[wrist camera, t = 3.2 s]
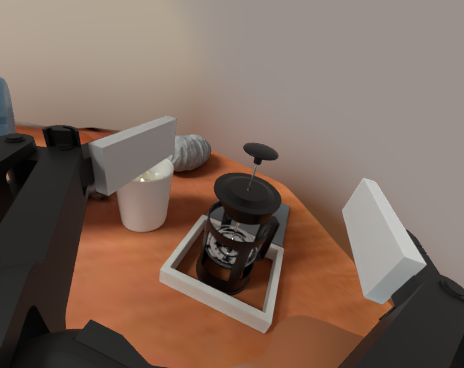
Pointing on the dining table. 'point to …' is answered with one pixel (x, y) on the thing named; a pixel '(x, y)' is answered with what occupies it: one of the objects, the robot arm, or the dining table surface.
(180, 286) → the holder frame
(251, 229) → the slate mat
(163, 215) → the candle holder
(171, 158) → the seashell
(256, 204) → the french press
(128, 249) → the dining table surface
